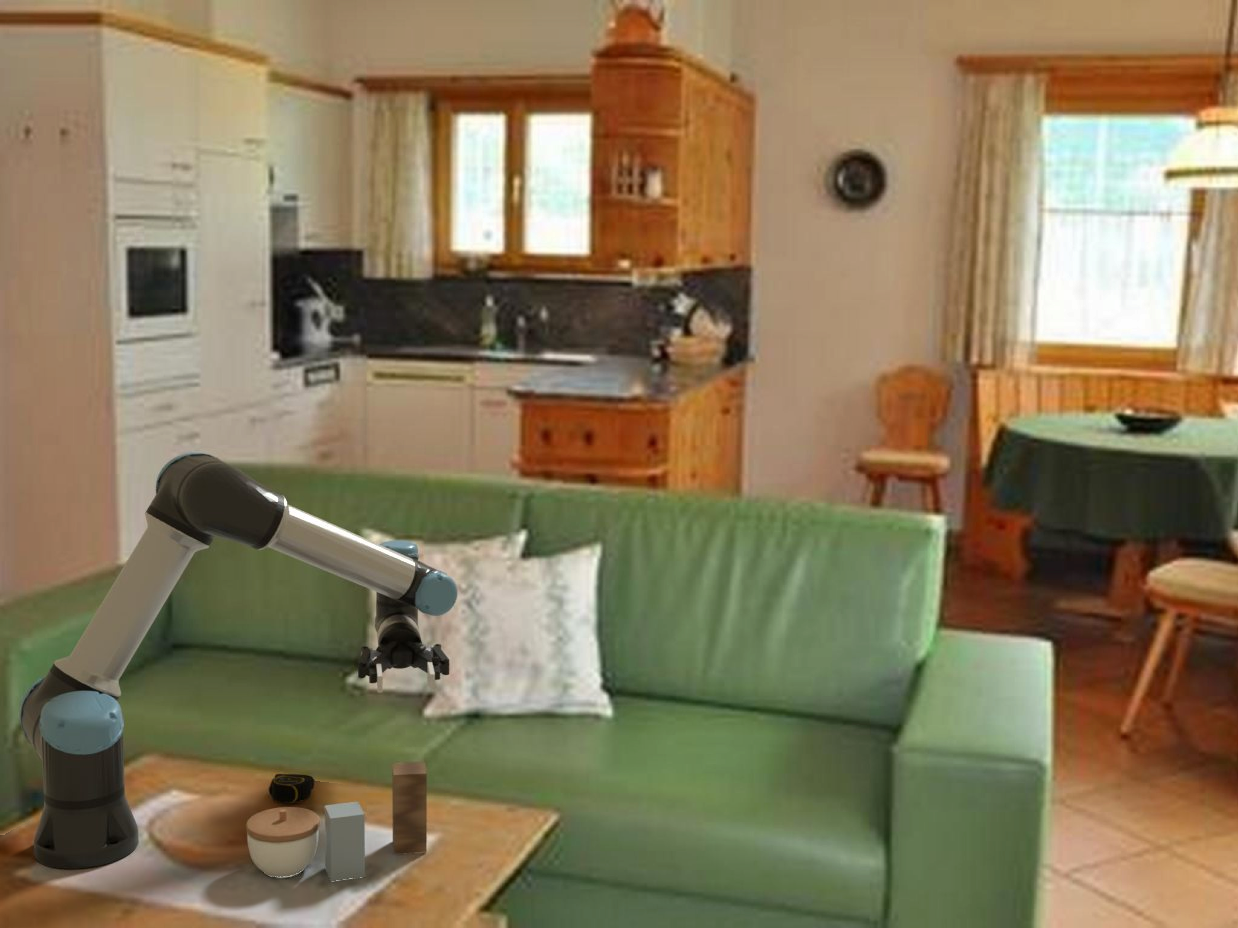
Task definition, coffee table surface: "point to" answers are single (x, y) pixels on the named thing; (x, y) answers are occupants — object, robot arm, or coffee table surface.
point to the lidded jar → (283, 839)
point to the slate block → (344, 841)
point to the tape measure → (291, 787)
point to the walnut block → (409, 807)
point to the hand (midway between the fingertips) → (406, 683)
